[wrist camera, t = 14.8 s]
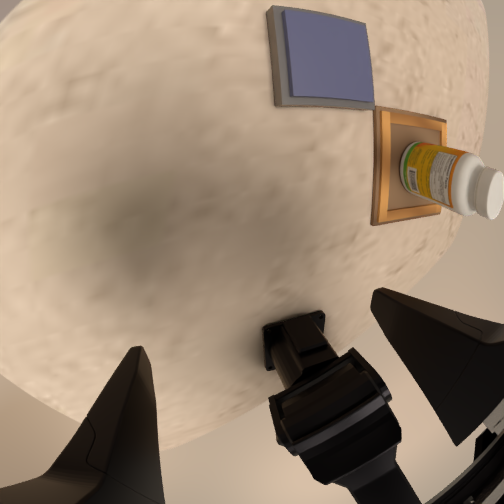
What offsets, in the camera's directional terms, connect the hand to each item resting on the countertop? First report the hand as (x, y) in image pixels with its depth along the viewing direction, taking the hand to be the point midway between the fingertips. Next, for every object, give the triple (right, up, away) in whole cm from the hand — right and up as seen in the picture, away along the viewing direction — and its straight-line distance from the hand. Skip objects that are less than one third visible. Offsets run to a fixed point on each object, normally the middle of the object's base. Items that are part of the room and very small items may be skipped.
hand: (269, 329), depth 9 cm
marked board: (+15, +11, +13) cm, 23 cm away
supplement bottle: (+15, +11, +13) cm, 23 cm away
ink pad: (+5, +17, +7) cm, 19 cm away
